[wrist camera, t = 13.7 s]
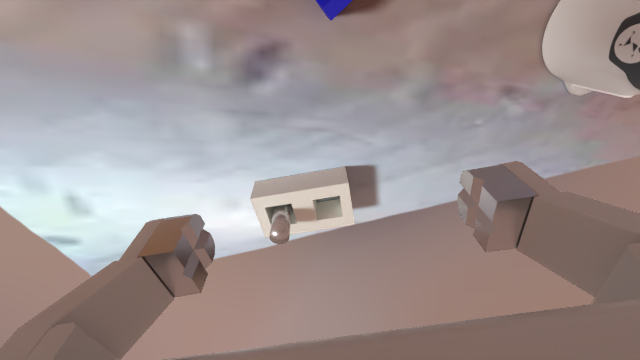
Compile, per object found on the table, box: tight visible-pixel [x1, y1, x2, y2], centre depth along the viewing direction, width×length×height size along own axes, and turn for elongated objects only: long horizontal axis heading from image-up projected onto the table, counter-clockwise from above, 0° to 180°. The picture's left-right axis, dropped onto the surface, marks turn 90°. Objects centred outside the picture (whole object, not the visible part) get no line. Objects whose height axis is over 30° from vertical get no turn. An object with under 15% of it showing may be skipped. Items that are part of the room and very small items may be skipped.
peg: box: [270, 204, 292, 244], centre depth 47 cm, size 3×3×10 cm
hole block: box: [250, 167, 354, 238], centre depth 49 cm, size 16×9×5 cm, turn 100°
